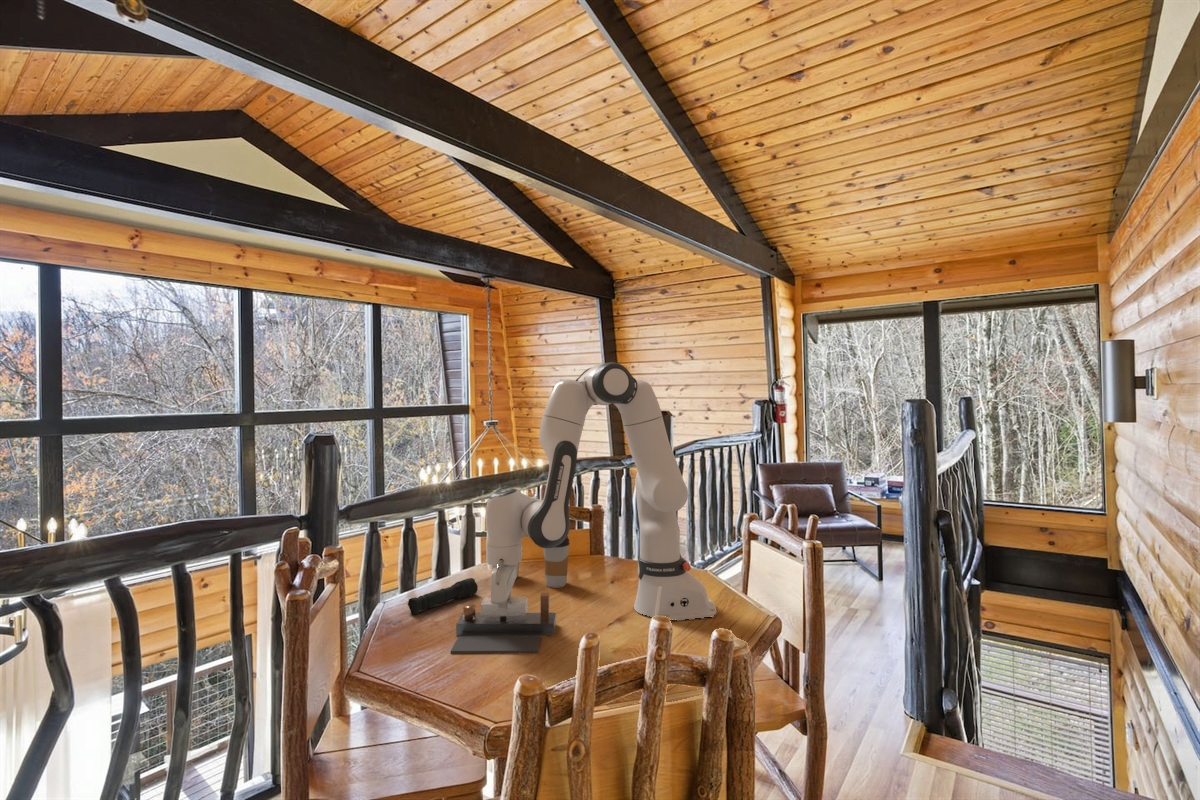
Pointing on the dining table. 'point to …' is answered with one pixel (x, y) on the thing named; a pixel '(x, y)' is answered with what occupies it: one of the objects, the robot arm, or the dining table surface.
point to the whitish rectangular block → (514, 607)
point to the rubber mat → (496, 644)
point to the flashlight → (443, 595)
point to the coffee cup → (556, 564)
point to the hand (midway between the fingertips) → (504, 608)
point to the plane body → (507, 622)
